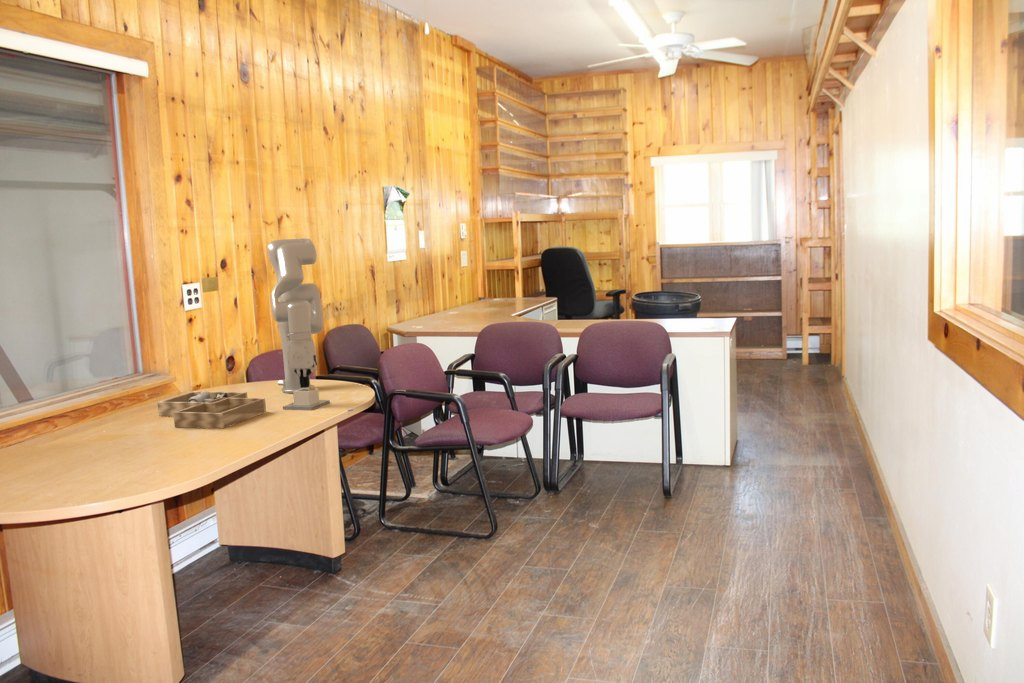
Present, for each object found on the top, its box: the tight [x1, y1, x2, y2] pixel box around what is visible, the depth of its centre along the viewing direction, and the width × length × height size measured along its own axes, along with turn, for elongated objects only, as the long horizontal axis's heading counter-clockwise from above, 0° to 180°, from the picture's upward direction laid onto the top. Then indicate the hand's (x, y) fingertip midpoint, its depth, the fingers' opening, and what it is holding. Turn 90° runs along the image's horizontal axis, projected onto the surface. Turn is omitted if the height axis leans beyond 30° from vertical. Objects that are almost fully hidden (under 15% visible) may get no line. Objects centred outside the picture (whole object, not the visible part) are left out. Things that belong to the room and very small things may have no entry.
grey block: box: [292, 386, 320, 405], centre depth 301 cm, size 6×7×6 cm
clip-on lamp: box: [188, 390, 227, 403], centre depth 302 cm, size 12×6×18 cm
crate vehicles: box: [173, 397, 267, 430], centre depth 286 cm, size 19×24×5 cm
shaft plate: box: [282, 390, 331, 411], centre depth 301 cm, size 12×12×6 cm
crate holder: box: [157, 391, 248, 417], centre depth 302 cm, size 24×19×5 cm
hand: (305, 387), depth 300 cm, fingers closed
